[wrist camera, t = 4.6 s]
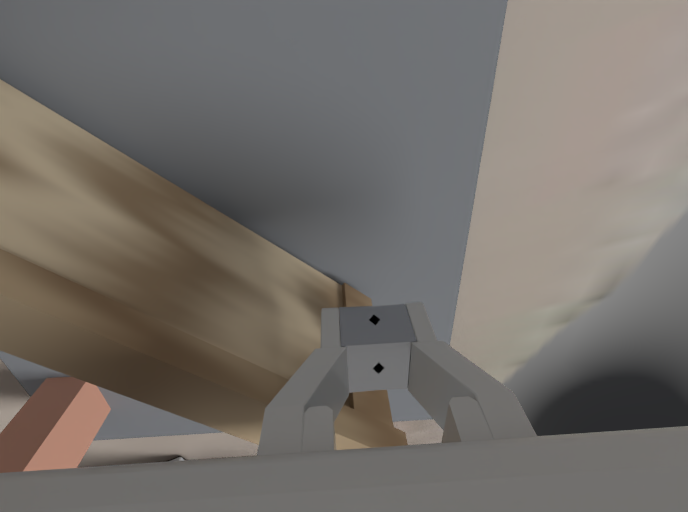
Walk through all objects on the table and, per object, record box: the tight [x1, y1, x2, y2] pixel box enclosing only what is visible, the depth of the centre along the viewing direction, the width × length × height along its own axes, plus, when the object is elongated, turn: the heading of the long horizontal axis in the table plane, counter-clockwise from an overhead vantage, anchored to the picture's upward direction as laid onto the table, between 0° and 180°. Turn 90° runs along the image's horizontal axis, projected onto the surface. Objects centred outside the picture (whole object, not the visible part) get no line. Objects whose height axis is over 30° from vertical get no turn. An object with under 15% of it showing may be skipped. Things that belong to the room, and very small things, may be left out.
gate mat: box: [0, 0, 508, 440], centre depth 16 cm, size 26×24×1 cm
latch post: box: [0, 377, 111, 473], centre depth 17 cm, size 3×2×10 cm
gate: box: [0, 79, 408, 450], centre depth 11 cm, size 17×2×8 cm, turn 52°
